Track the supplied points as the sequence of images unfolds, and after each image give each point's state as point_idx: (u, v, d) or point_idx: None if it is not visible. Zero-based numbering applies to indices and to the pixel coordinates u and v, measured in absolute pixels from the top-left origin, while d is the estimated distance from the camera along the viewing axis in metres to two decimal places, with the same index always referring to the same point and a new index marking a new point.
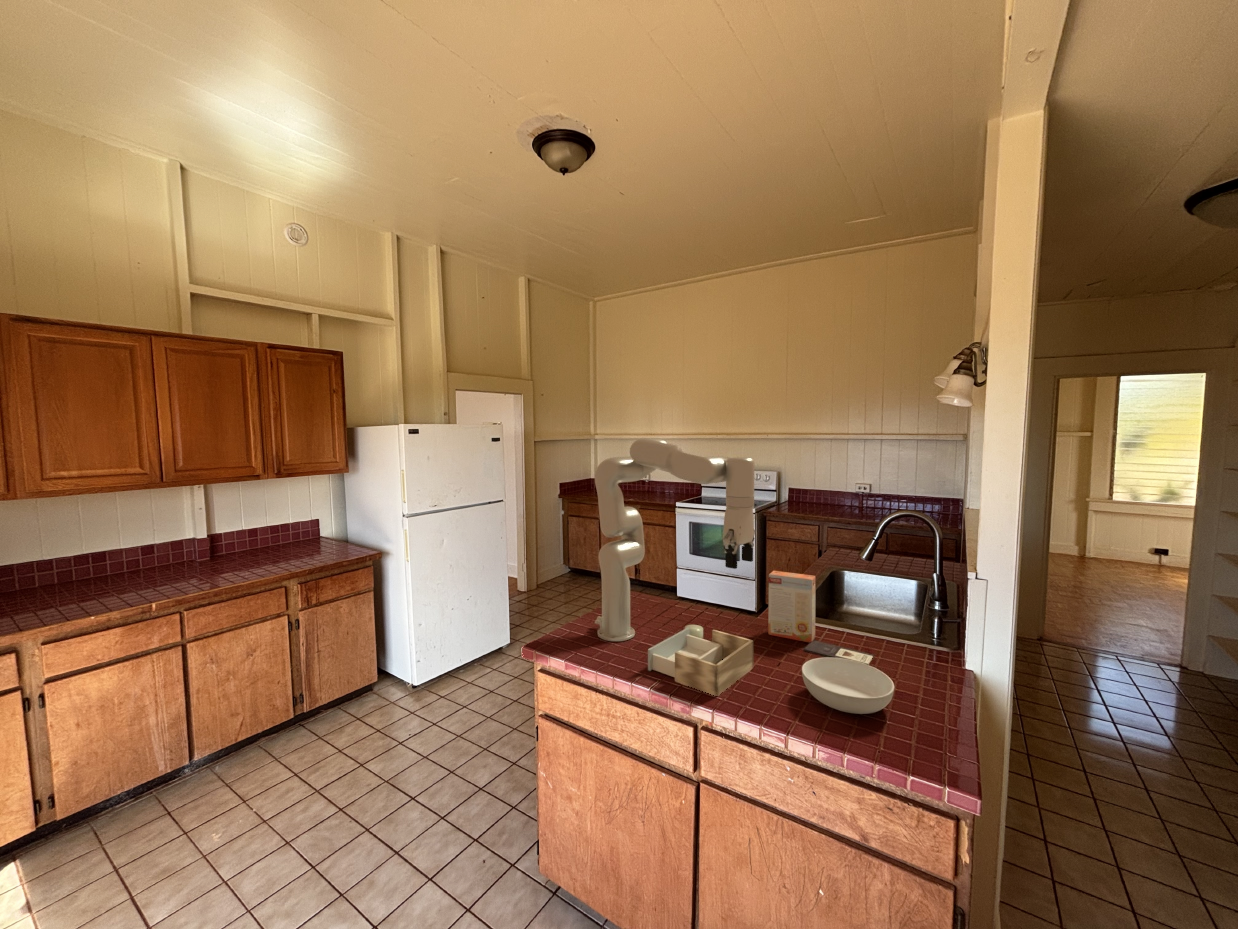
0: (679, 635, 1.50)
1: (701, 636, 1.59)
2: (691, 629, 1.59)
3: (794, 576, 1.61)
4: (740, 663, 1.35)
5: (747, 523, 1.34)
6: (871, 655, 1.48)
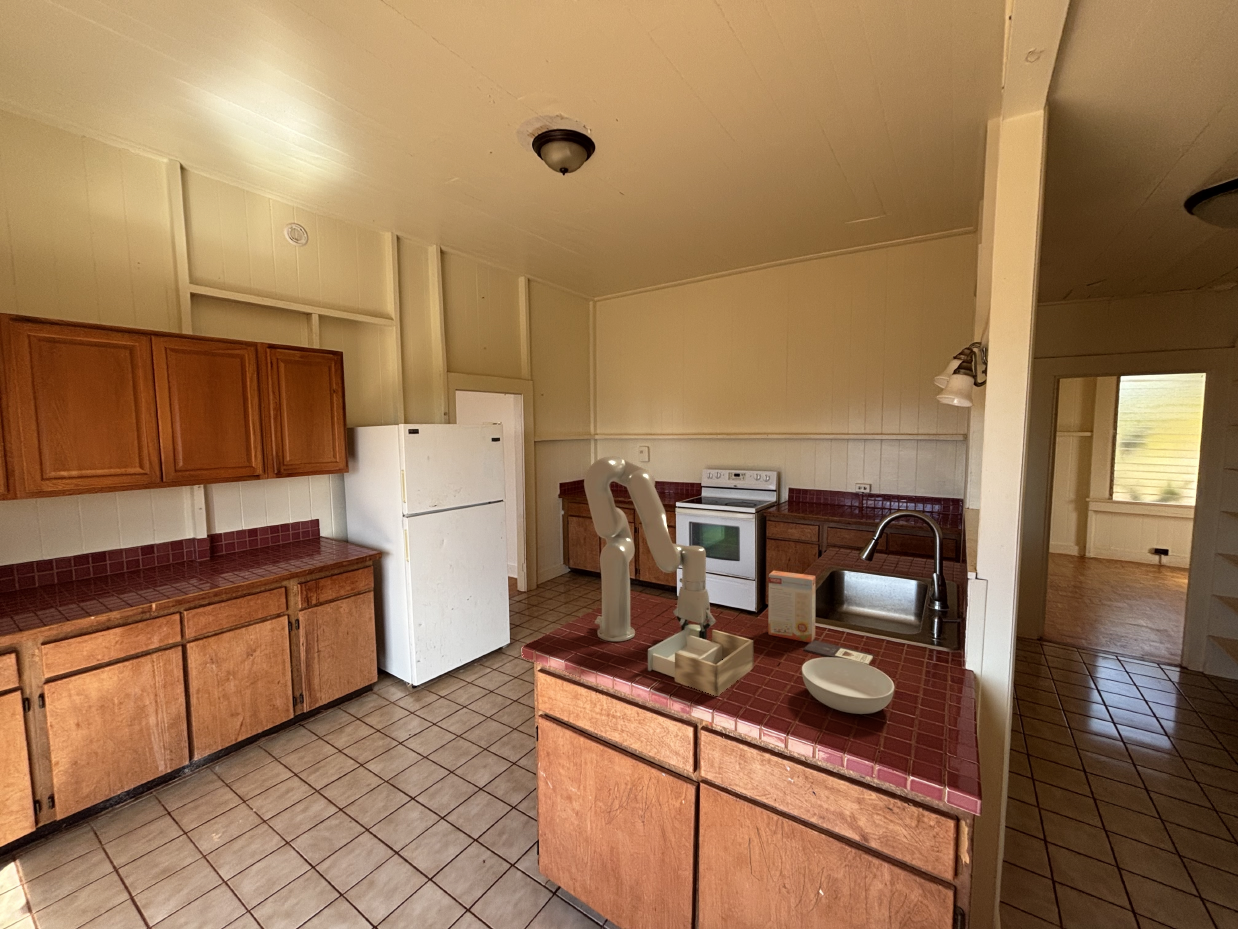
0: (679, 635, 1.50)
1: None
2: (691, 629, 1.59)
3: (794, 576, 1.61)
4: (740, 663, 1.35)
5: None
6: (871, 655, 1.48)
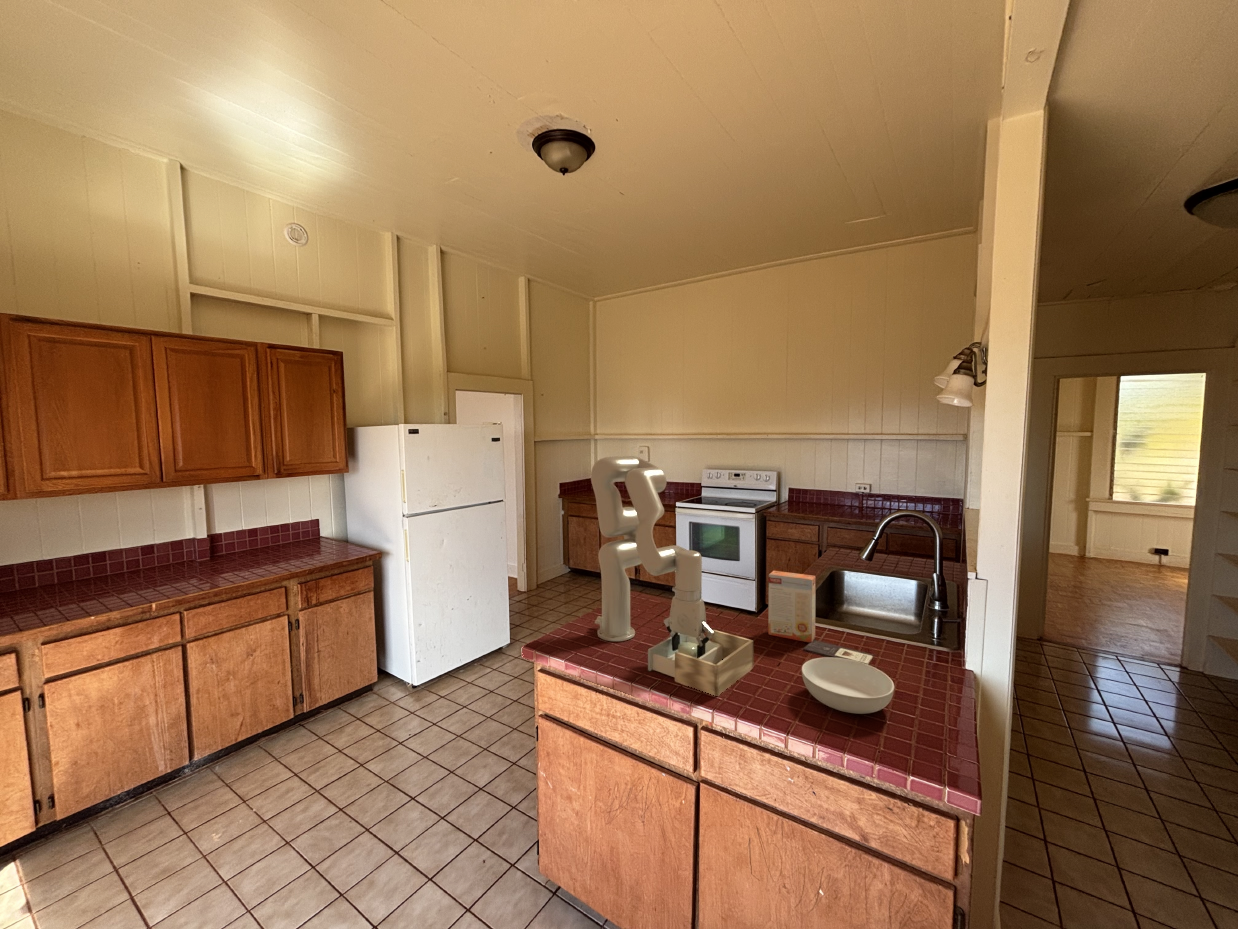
0: None
1: None
2: (685, 648, 1.42)
3: (794, 576, 1.61)
4: (740, 663, 1.35)
5: None
6: (871, 655, 1.48)
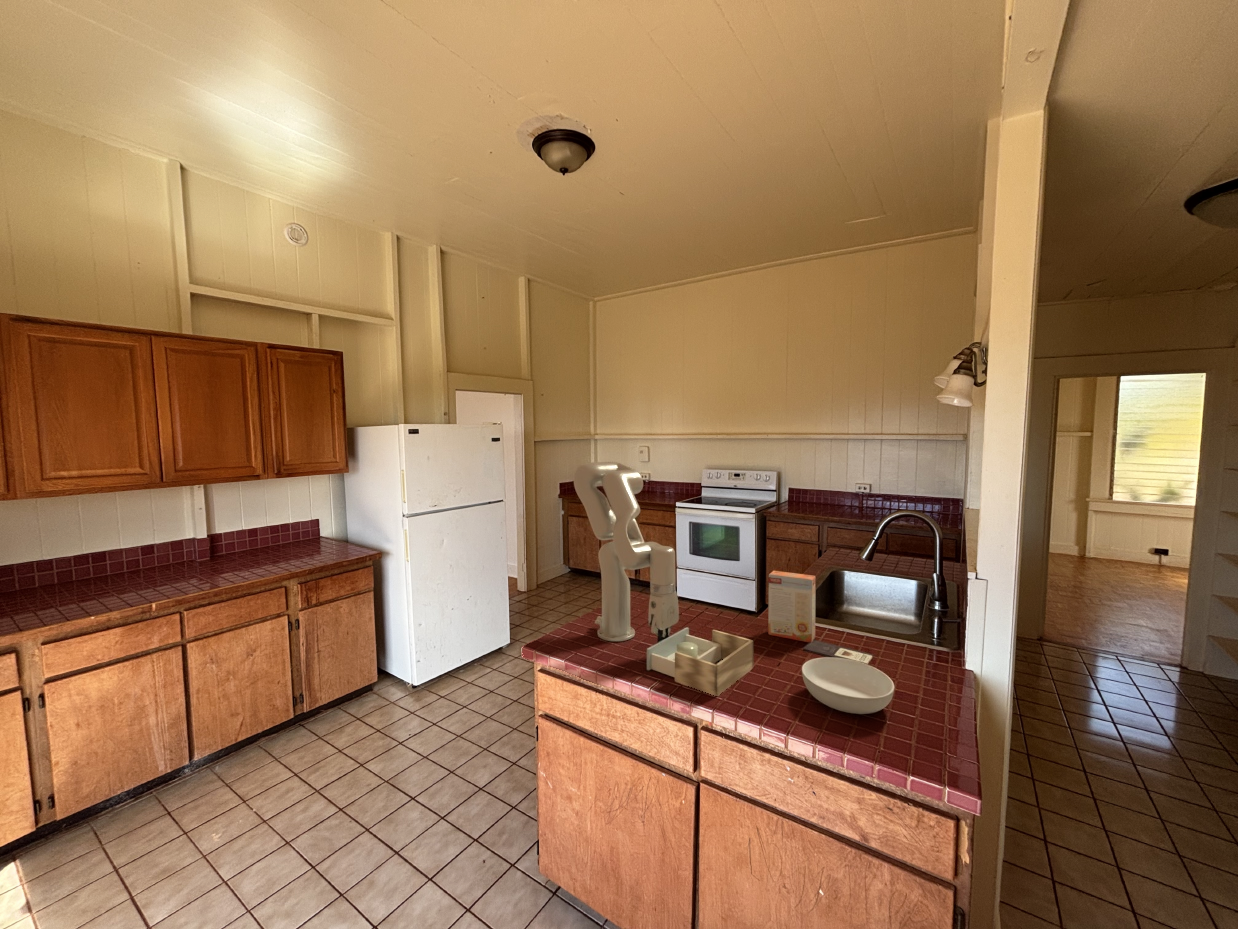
0: (678, 635, 1.51)
1: (695, 655, 1.42)
2: (684, 647, 1.42)
3: (794, 576, 1.61)
4: (740, 663, 1.35)
5: None
6: (870, 655, 1.48)
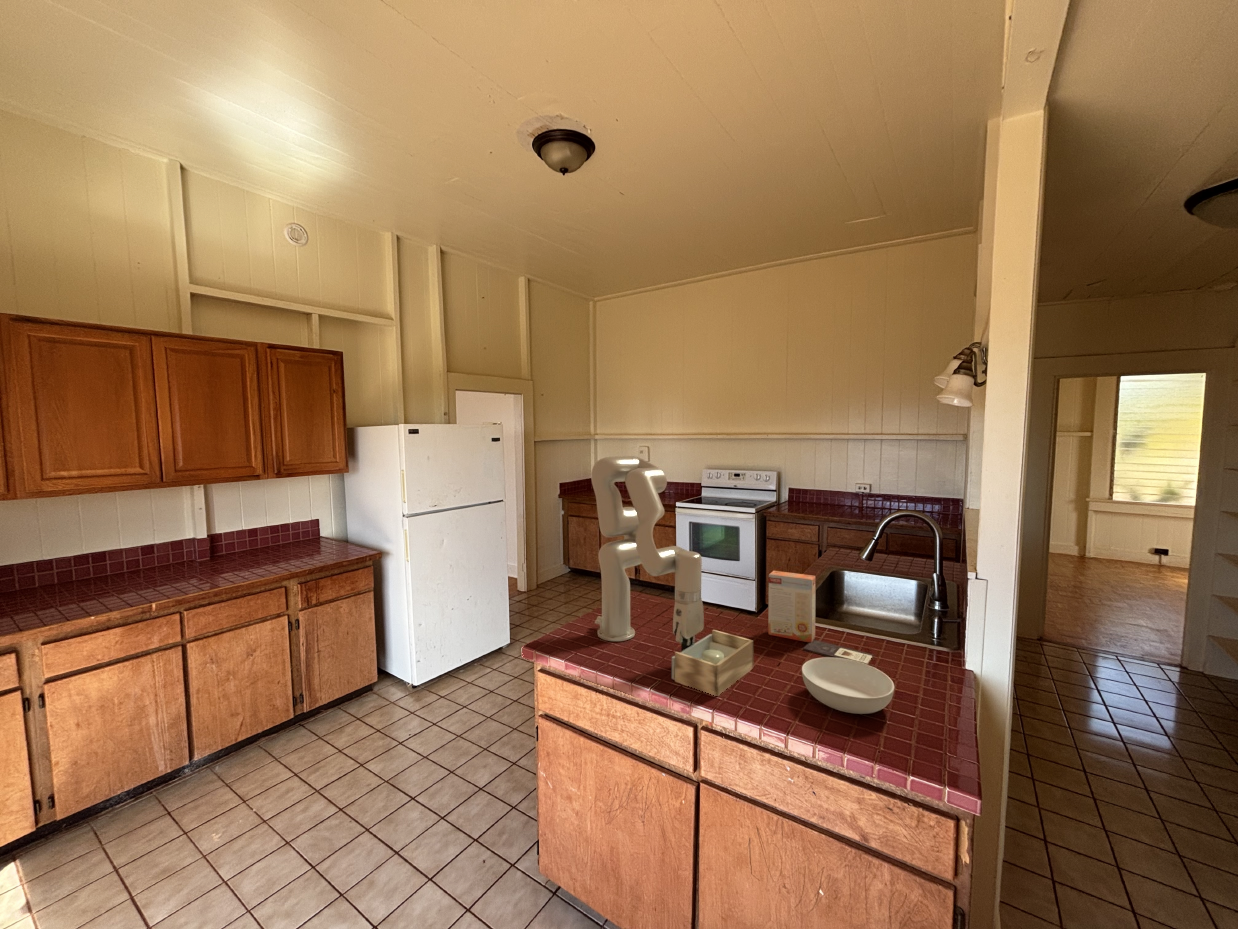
0: (702, 642, 1.45)
1: None
2: (710, 655, 1.37)
3: (794, 576, 1.61)
4: (740, 663, 1.35)
5: None
6: (870, 655, 1.48)
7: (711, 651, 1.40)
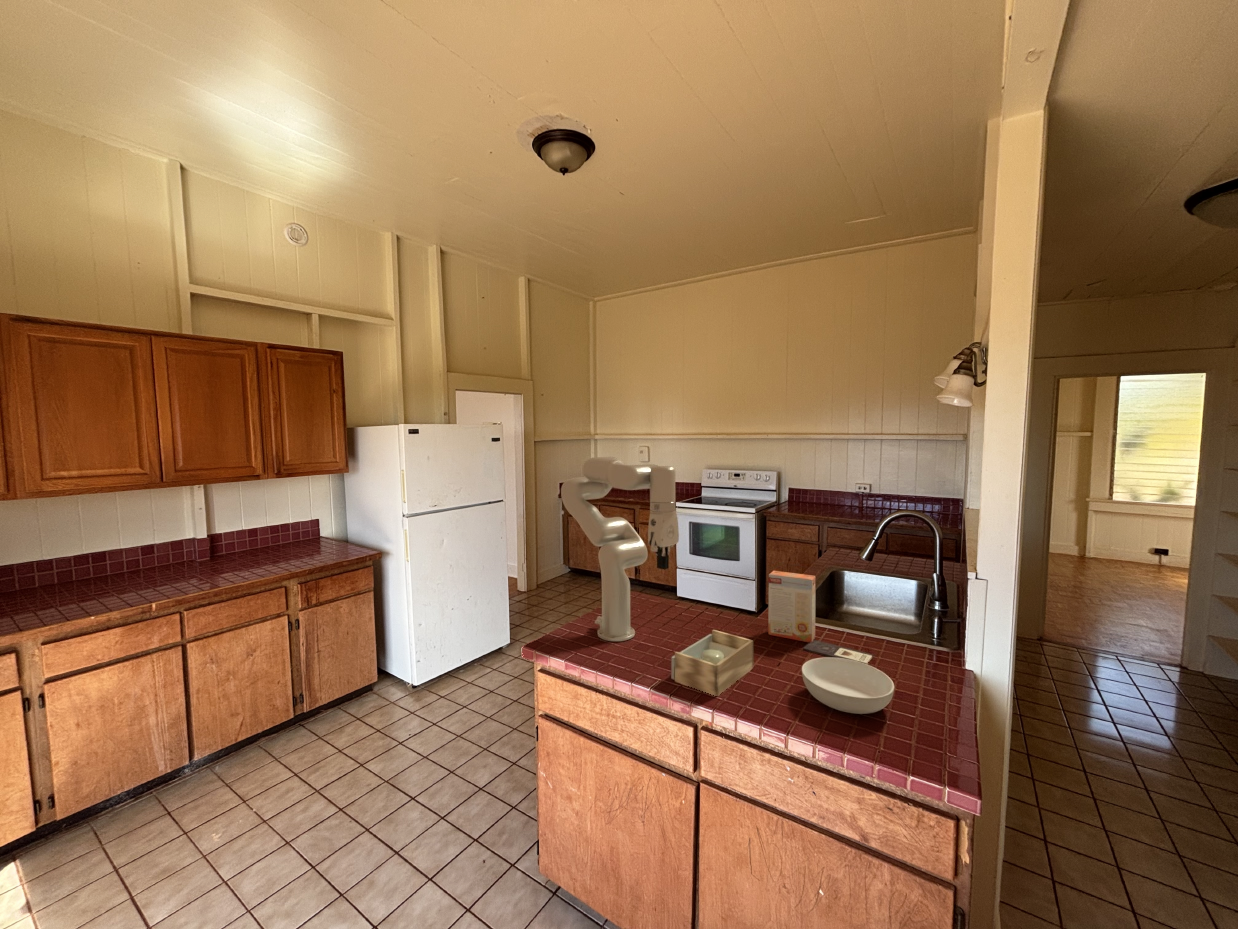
0: (702, 642, 1.45)
1: None
2: (710, 655, 1.37)
3: (794, 576, 1.61)
4: (740, 663, 1.35)
5: None
6: (870, 655, 1.48)
7: (711, 651, 1.40)
